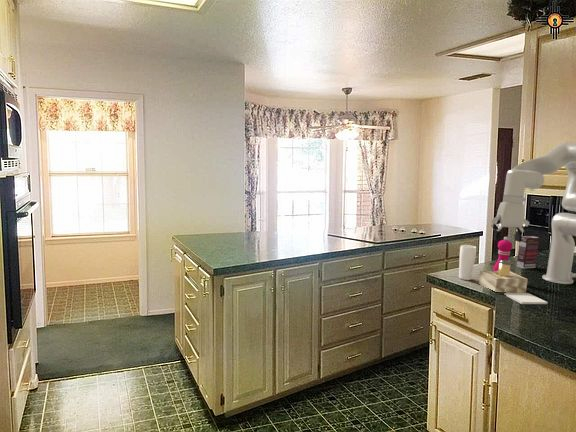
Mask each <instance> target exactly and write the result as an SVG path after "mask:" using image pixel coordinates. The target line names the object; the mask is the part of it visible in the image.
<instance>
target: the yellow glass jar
mask: <svg viewBox="0 0 576 432" xmlns="http://www.w3.org/2000/svg"><path fill="white" fill-rule="evenodd" d="M511 265H512V261H510V260H509V259H508V260H500V261H499V269H498V275H499V276H501V277H509V273H510V270H511Z"/></svg>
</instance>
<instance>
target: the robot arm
mask: <svg viewBox="0 0 576 432" xmlns="http://www.w3.org/2000/svg"><path fill="white" fill-rule="evenodd" d="M563 167H564V168H565V171H566V173H567V177H568V178H567V182H566V187H565V190H564V193H563V196H562V199H561V206H562V209H564V210H566V211H571V212H576V142H562V143H560V144H558V145H556V146H555V147H554V148H551V150H549V151H547V152H546V153H545V154H543V155H542V156H539V157H535V158H532V159H528V160H526V161H523V162H521V163H518V164H517V165H515V166H514V167H513V168H512V169H508V170H507V172H506V175H505V181H504V183H505V184H504V190H503V195H502V196H503V197H502V202H500V203H499V205H498V209H497V213H496V216H495V217H493V218H491V219H490V220H489V222H490V224H491V225H490V226H491V227H492V229H493V240H494V241H497V242H499V241H501V235H502V234H501V233H502V231H501V230H502V229H503V228H515V229H516V230H517V231H515V235H514V241H515V242H518V243H520V242H521V239H522V236H523V233H524V232H525V230H527V229H528V227H529V225H530V221H528V220H527V219H525V205H524V202H525V201H526V198H525V192H526V191H525V189H528V190H537V189H539V188H541V187H542V186H543V185H544V182H545V176H544V175H550V174H553V173H556V172H557V171H559V170H560V169H562V168H563ZM550 226H551V242H550V248H549V255H548V261H547V269H546V274H543V275H542V277H541V278H542V279H543V280H545V281H547V282H550V283H555V284H561V285H572V284H573V283H574V279H575V278H576V273H573V272H572V266H573V261H574V253H575V249H576V244H575V239H574V238H573V236H575V237H576V213H575V214H574V213H569V212H558V213H556V214H554V216H553V217H552V219H551V225H550Z"/></svg>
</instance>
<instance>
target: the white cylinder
mask: <svg viewBox="0 0 576 432" xmlns="http://www.w3.org/2000/svg"><path fill="white" fill-rule="evenodd" d="M476 256H477V246H476V245H475V246H474V245H471V244H460V247H459V263H458V264H459V265H458V266H459V267H458V268H459V269H458V278H459V279H460V280H463V281H471V279H472V276H473V270H474V267H475V262H476Z"/></svg>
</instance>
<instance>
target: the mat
mask: <svg viewBox="0 0 576 432" xmlns="http://www.w3.org/2000/svg"><path fill="white" fill-rule="evenodd" d="M503 294H504V296H505V295H506V296H505V297H507V298H510V299H511V300H513V301H515V302H517V303H519V304H521V305H548V303H549V302H548V301H546V300H544V299H542V298H539V297H537V296H536V295H533V294H531V293H529V292H526V293H503Z"/></svg>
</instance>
